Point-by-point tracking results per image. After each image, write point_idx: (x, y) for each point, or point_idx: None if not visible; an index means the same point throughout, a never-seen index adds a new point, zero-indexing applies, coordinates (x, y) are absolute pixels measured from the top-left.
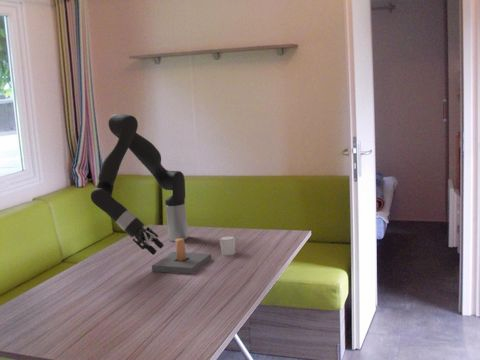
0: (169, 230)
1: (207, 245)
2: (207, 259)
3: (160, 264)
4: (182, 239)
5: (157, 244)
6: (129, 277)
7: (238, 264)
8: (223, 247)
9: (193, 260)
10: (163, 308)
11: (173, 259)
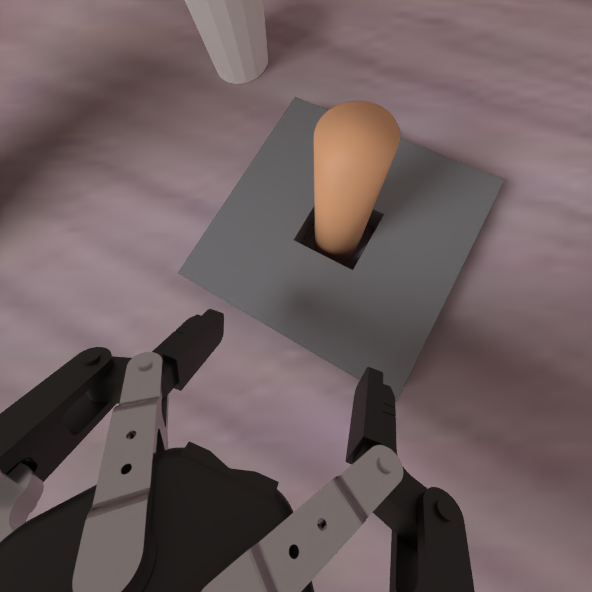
0: None
1: (87, 136)
2: None
3: (393, 345)
4: (361, 113)
5: (199, 359)
6: None
7: (399, 31)
8: (253, 34)
9: None
10: None
11: (321, 271)
